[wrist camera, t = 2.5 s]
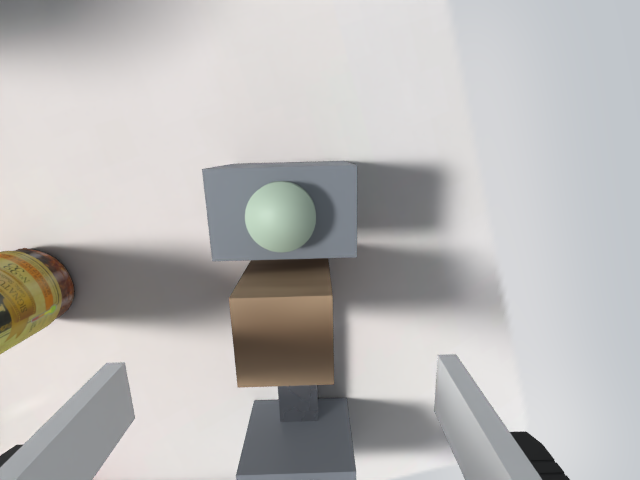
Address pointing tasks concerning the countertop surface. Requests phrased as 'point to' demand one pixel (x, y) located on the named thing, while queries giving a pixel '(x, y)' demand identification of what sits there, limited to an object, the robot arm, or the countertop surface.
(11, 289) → the sauce bottle
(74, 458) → the robot arm
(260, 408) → the cabinet far
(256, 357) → the carriage
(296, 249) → the cabinet near
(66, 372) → the countertop surface
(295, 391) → the rail
